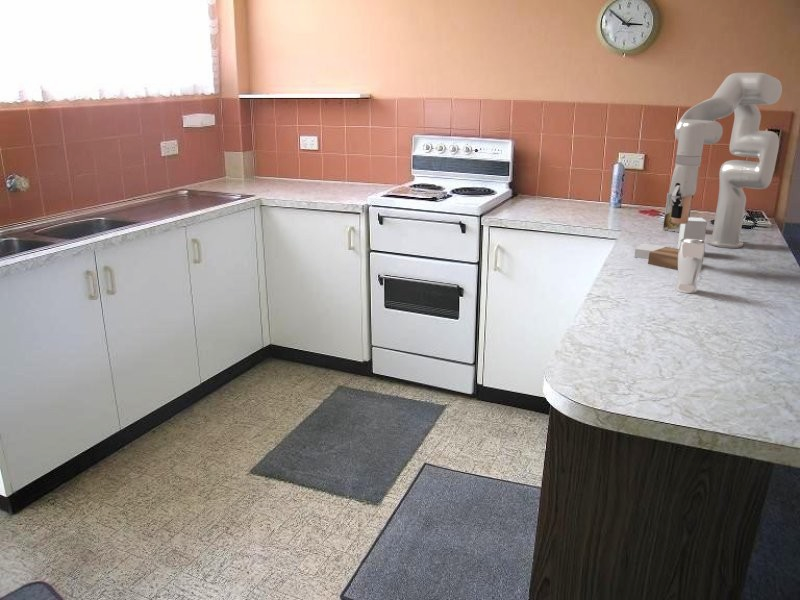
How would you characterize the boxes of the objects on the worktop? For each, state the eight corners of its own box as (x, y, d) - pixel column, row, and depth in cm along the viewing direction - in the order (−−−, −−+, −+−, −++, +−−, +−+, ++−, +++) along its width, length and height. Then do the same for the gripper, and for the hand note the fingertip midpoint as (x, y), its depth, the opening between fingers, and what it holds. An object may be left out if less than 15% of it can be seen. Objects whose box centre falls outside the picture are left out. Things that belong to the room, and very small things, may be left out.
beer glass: (697, 288, 200) (705, 239, 195) (699, 294, 193) (707, 244, 189) (672, 285, 202) (679, 237, 197) (673, 292, 195) (680, 242, 191)
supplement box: (702, 256, 236) (707, 221, 232) (680, 255, 237) (685, 220, 233) (697, 251, 243) (703, 217, 239) (676, 250, 244) (681, 216, 240)
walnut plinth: (664, 257, 234) (665, 246, 232) (698, 264, 225) (700, 253, 224) (647, 263, 226) (649, 252, 224) (682, 271, 217) (684, 259, 216)
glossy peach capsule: (675, 219, 224) (679, 193, 222) (690, 222, 221) (694, 195, 218) (668, 221, 221) (672, 194, 218) (683, 224, 217) (687, 196, 215)
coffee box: (688, 230, 277) (694, 191, 272) (685, 233, 272) (691, 193, 267) (665, 227, 282) (670, 189, 277) (662, 230, 276) (667, 191, 271)
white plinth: (640, 251, 242) (641, 243, 241) (669, 255, 237) (670, 246, 236) (634, 257, 234) (635, 248, 233) (664, 261, 229) (665, 252, 228)
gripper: (688, 158, 223) (680, 212, 228) (664, 161, 212) (657, 218, 217) (710, 160, 218) (702, 215, 223) (687, 164, 206) (679, 221, 212)
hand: (680, 216), depth 220 cm, fingers closed on glossy peach capsule, 5 cm apart
